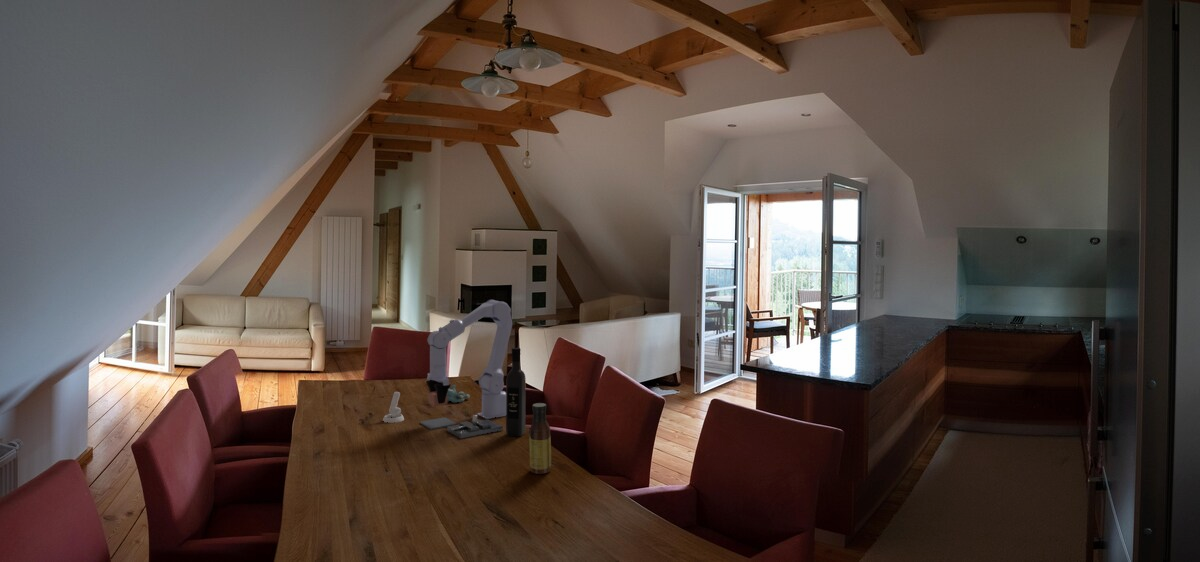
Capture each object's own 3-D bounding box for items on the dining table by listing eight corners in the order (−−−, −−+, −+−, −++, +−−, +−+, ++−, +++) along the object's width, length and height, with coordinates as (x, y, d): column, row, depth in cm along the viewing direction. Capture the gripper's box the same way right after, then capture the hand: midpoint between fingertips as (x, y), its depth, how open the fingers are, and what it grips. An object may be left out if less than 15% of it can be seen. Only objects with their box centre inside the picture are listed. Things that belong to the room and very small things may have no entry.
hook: (409, 400, 247) (410, 393, 242) (402, 430, 241) (402, 424, 235) (389, 396, 246) (389, 390, 240) (381, 426, 239) (381, 420, 234)
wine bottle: (520, 437, 219) (521, 350, 218) (505, 436, 221) (505, 349, 219) (526, 432, 225) (526, 347, 223) (510, 431, 226) (511, 346, 224)
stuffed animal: (473, 389, 265) (444, 386, 261) (470, 406, 265) (441, 403, 261) (469, 384, 275) (441, 380, 271) (466, 400, 275) (437, 397, 271)
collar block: (441, 401, 237) (441, 390, 236) (447, 404, 233) (447, 393, 232) (428, 403, 234) (428, 392, 233) (434, 405, 230) (434, 394, 229)
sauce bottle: (540, 465, 192) (540, 400, 191) (555, 470, 188) (556, 403, 187) (524, 471, 187) (524, 404, 186) (539, 477, 183) (540, 408, 182)
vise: (487, 423, 235) (487, 408, 235) (502, 430, 227) (502, 415, 226) (444, 431, 225) (444, 415, 225) (458, 439, 217) (458, 423, 216)
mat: (445, 418, 241) (445, 417, 241) (457, 425, 233) (457, 423, 233) (419, 423, 235) (419, 421, 235) (430, 429, 227) (430, 428, 227)
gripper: (419, 362, 236) (419, 398, 236) (435, 368, 224) (436, 407, 225) (437, 360, 240) (437, 396, 241) (454, 366, 229) (454, 404, 229)
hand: (438, 401), depth 233 cm, fingers closed on collar block, 5 cm apart
